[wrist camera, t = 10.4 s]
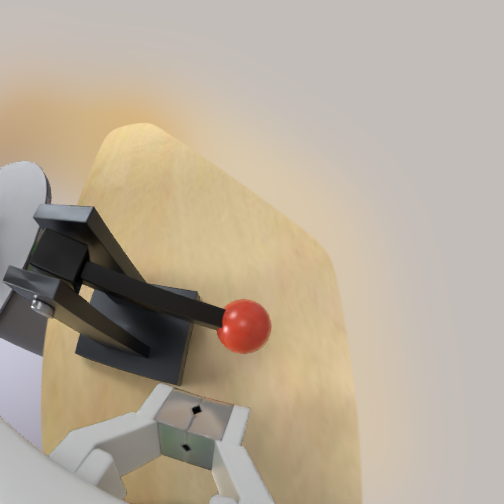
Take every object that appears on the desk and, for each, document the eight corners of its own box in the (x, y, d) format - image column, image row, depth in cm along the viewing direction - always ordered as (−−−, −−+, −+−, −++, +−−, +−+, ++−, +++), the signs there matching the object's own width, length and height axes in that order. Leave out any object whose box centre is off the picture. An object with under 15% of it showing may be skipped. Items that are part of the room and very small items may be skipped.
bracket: (200, 296, 25) (153, 185, 13) (180, 386, 21) (91, 351, 9) (105, 279, 26) (26, 184, 14) (81, 356, 22) (-29, 295, 10)
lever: (258, 314, 19) (284, 301, 16) (251, 360, 17) (278, 355, 15) (56, 241, 14) (48, 214, 12) (36, 288, 13) (21, 268, 10)
